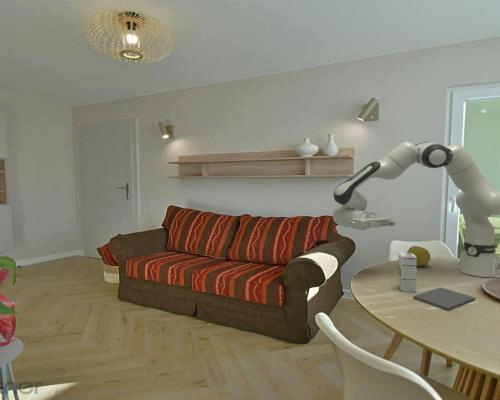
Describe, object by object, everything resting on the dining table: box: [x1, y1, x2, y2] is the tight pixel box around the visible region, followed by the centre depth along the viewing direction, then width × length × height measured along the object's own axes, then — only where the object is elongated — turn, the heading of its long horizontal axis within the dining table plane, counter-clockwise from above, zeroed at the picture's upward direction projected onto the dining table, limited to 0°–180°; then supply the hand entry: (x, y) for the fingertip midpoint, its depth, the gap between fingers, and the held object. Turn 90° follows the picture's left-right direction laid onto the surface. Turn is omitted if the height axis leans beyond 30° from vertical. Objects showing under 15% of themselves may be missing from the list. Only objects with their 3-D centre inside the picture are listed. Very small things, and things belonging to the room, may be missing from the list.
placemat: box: [412, 287, 476, 311], centre depth 125 cm, size 18×13×1 cm
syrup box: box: [397, 252, 417, 293], centre depth 135 cm, size 6×6×14 cm
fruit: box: [406, 245, 431, 267], centre depth 169 cm, size 10×11×10 cm
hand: (387, 224), depth 144 cm, fingers open, 8 cm apart
